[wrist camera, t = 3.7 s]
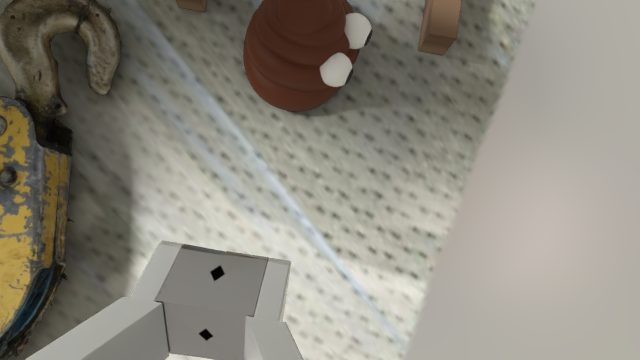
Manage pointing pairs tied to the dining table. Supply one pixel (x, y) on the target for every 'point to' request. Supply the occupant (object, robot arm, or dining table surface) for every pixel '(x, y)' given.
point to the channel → (435, 25)
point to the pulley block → (40, 153)
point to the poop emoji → (302, 50)
